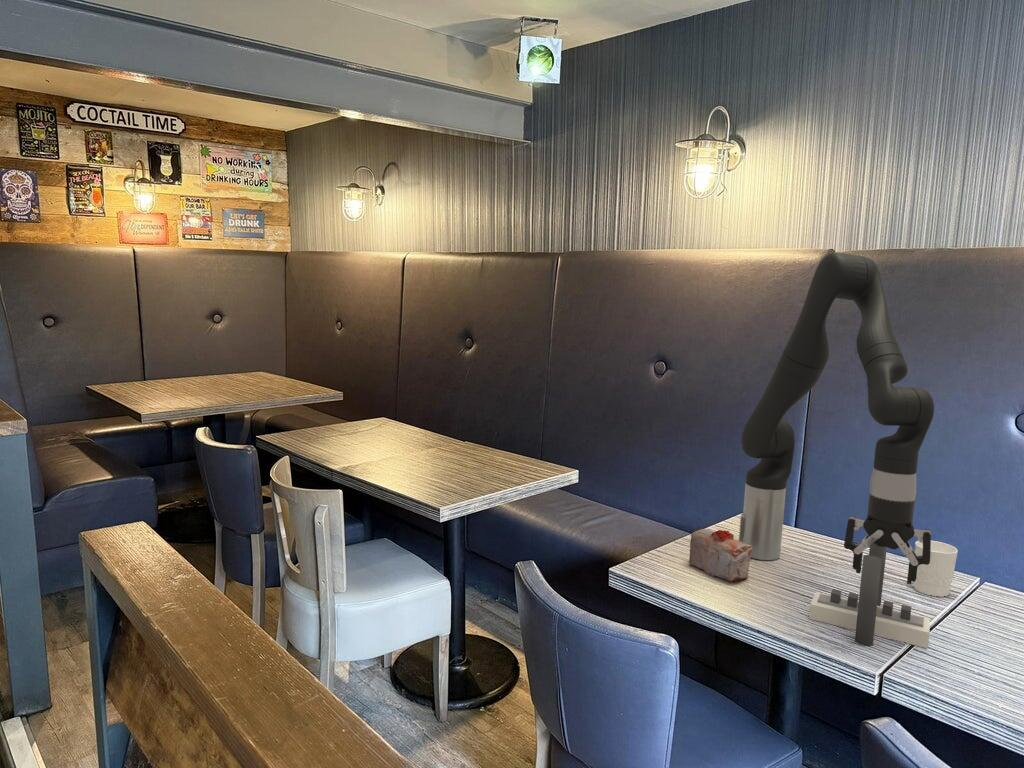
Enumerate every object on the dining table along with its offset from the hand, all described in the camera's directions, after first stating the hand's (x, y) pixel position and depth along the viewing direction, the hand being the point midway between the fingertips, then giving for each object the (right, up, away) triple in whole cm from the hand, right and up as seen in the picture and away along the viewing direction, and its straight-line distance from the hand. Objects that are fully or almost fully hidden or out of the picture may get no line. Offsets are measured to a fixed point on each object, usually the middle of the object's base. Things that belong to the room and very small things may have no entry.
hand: (883, 577), depth 134 cm
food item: (-23, -6, +26) cm, 36 cm away
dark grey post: (-6, -11, -4) cm, 13 cm away
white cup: (+21, -9, +20) cm, 30 cm away
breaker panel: (-2, -10, +2) cm, 10 cm away
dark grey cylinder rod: (+2, -9, +9) cm, 13 cm away
